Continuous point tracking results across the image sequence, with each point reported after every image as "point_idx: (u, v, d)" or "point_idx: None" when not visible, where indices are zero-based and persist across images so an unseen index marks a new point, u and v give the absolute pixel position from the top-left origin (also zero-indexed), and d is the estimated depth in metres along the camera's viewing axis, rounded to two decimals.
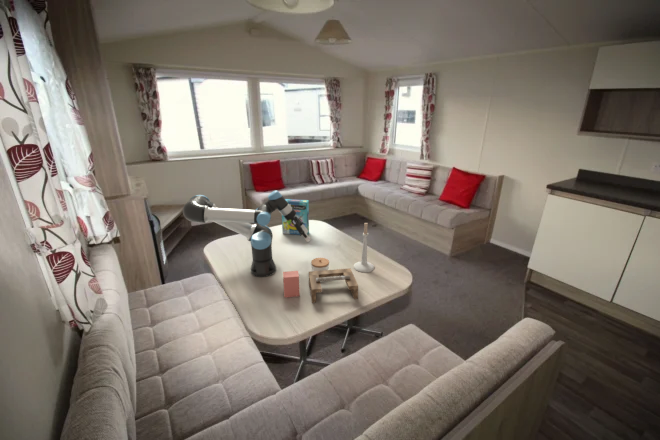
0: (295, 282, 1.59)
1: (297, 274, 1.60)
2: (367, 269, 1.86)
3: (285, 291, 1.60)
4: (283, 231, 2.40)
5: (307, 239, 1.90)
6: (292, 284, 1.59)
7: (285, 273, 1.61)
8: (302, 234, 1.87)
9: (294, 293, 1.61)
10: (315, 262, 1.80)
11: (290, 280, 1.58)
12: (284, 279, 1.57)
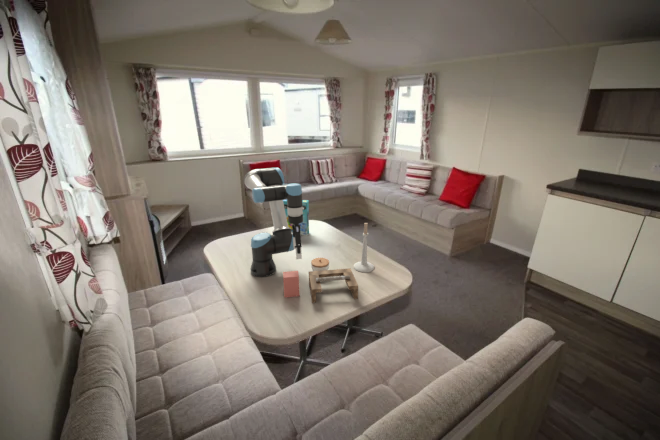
0: (295, 282, 1.59)
1: (297, 274, 1.60)
2: (367, 269, 1.86)
3: (285, 291, 1.60)
4: None
5: (298, 256, 1.53)
6: (292, 284, 1.59)
7: (285, 273, 1.61)
8: None
9: (294, 293, 1.61)
10: (315, 262, 1.80)
11: (290, 280, 1.58)
12: (284, 279, 1.57)
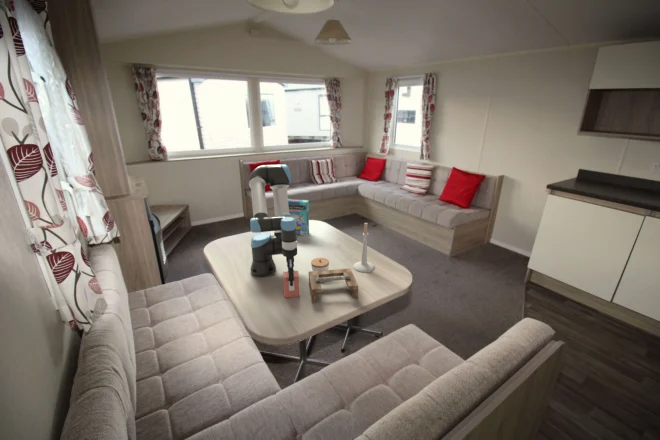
0: (295, 282, 1.59)
1: (297, 274, 1.60)
2: (367, 269, 1.86)
3: (285, 291, 1.60)
4: None
5: (290, 288, 1.59)
6: None
7: (285, 273, 1.61)
8: (290, 280, 1.56)
9: (294, 293, 1.61)
10: (315, 262, 1.80)
11: None
12: (284, 279, 1.57)
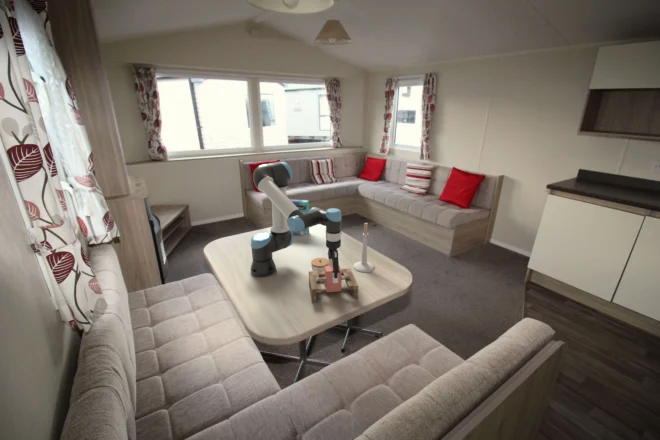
0: None
1: (339, 268, 1.59)
2: (367, 269, 1.86)
3: (327, 286, 1.59)
4: None
5: (334, 280, 1.54)
6: None
7: (327, 267, 1.60)
8: (335, 272, 1.51)
9: (336, 288, 1.60)
10: (315, 262, 1.80)
11: (332, 275, 1.57)
12: (327, 273, 1.57)
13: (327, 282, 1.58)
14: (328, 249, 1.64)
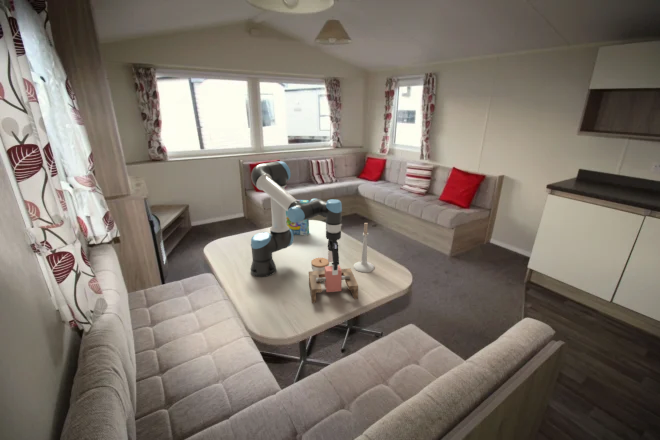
0: (337, 276, 1.58)
1: (339, 268, 1.59)
2: (367, 269, 1.86)
3: (327, 285, 1.59)
4: None
5: (334, 272, 1.52)
6: (335, 278, 1.58)
7: (327, 267, 1.60)
8: None
9: (336, 288, 1.60)
10: (315, 262, 1.80)
11: None
12: (327, 273, 1.57)
13: (327, 282, 1.58)
14: (328, 241, 1.63)
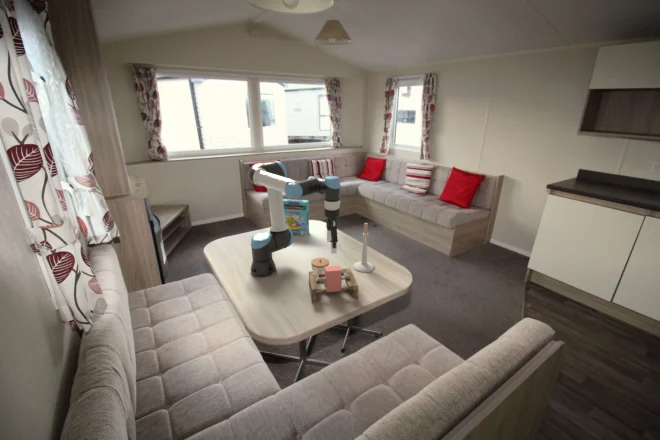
0: (337, 276, 1.58)
1: (339, 268, 1.59)
2: (367, 269, 1.86)
3: (327, 285, 1.59)
4: None
5: (333, 250, 1.49)
6: (335, 278, 1.58)
7: (327, 267, 1.60)
8: None
9: (336, 288, 1.60)
10: (315, 262, 1.80)
11: (332, 274, 1.58)
12: (327, 273, 1.57)
13: (327, 282, 1.58)
14: None
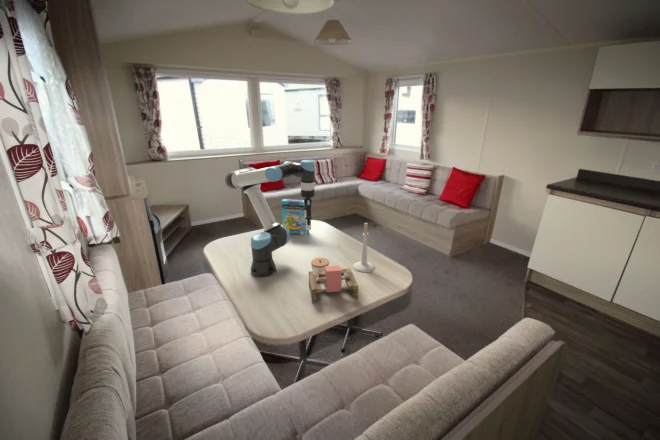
0: (337, 276, 1.58)
1: (339, 268, 1.59)
2: (367, 269, 1.86)
3: (327, 285, 1.59)
4: None
5: (307, 227, 1.67)
6: (335, 278, 1.58)
7: (327, 267, 1.60)
8: (307, 219, 1.64)
9: (336, 288, 1.60)
10: (315, 262, 1.80)
11: (332, 275, 1.58)
12: (327, 273, 1.57)
13: (327, 282, 1.58)
14: None
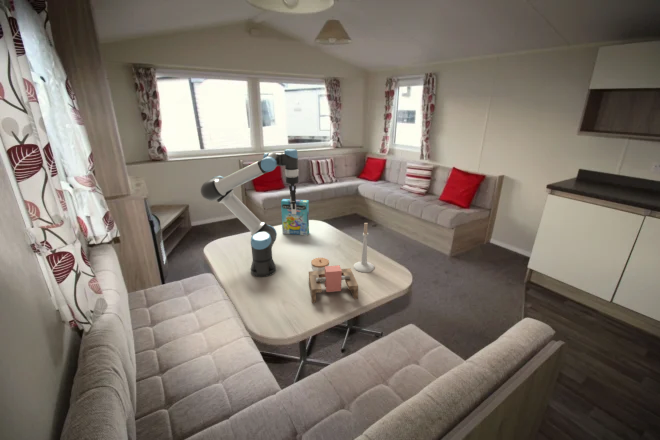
0: (337, 277, 1.58)
1: (339, 269, 1.59)
2: (367, 269, 1.86)
3: (327, 286, 1.59)
4: (283, 231, 2.40)
5: (293, 211, 1.80)
6: (335, 279, 1.58)
7: (327, 268, 1.60)
8: (292, 204, 1.76)
9: (336, 288, 1.60)
10: (315, 262, 1.80)
11: (332, 275, 1.57)
12: (327, 273, 1.57)
13: (327, 282, 1.58)
14: None
